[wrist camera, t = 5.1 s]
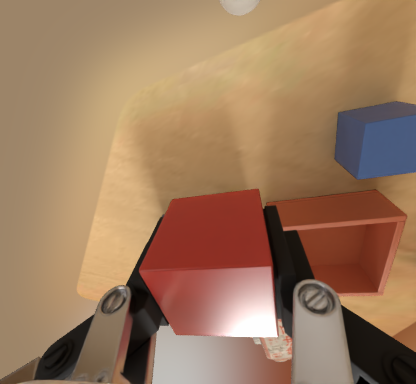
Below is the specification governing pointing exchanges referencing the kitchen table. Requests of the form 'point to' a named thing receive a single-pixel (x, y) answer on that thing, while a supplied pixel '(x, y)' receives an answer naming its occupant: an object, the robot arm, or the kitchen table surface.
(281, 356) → the packaged product
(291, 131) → the kitchen table surface
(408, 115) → the blue block
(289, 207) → the terracotta bin
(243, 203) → the red block
